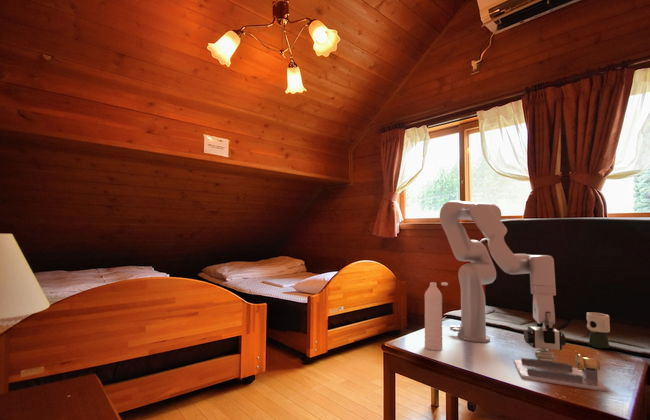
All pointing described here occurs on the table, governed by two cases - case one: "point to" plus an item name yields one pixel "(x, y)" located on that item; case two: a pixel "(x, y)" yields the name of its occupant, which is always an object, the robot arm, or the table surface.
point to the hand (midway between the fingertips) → (545, 339)
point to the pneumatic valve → (537, 341)
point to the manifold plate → (562, 372)
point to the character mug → (598, 329)
